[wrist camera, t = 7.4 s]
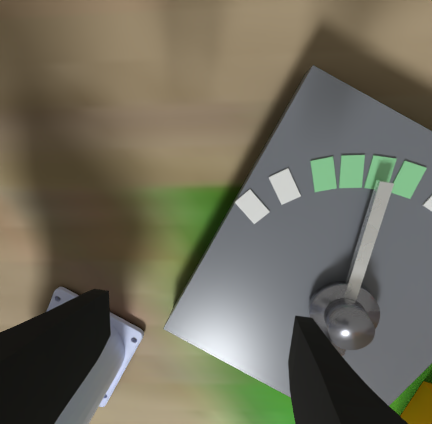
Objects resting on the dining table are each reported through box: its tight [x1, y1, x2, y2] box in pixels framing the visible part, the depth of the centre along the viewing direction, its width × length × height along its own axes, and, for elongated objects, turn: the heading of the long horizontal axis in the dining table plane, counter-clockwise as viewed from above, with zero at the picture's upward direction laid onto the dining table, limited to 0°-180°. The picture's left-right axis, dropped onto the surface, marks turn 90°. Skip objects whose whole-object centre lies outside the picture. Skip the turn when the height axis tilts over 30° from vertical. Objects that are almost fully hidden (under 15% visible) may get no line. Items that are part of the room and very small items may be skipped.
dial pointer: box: [308, 180, 394, 357], centre depth 16 cm, size 14×4×4 cm, turn 172°
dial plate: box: [163, 65, 432, 406], centre depth 20 cm, size 19×16×3 cm
